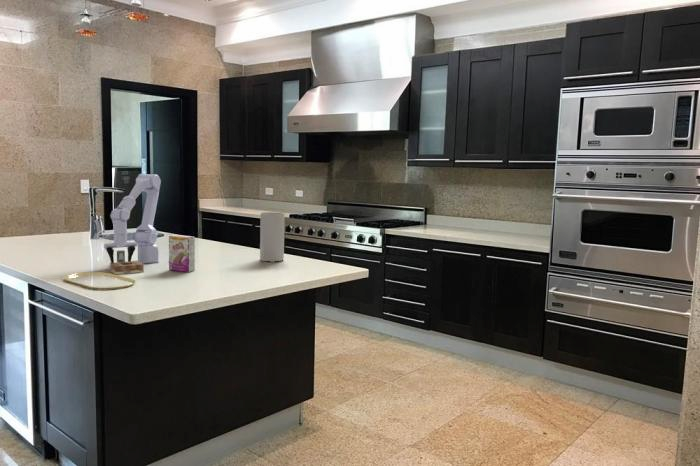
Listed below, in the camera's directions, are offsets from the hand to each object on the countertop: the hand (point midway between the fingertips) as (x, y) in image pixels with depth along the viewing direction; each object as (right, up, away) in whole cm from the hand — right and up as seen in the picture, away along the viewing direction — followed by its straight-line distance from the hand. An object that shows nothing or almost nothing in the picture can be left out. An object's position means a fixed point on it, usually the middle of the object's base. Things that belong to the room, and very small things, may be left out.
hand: (120, 262), depth 258 cm
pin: (0, -2, 0) cm, 2 cm away
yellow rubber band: (+4, -7, -31) cm, 32 cm away
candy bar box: (+30, -4, -2) cm, 30 cm away
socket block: (+6, -4, -8) cm, 10 cm away
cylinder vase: (+67, -1, +33) cm, 74 cm away
